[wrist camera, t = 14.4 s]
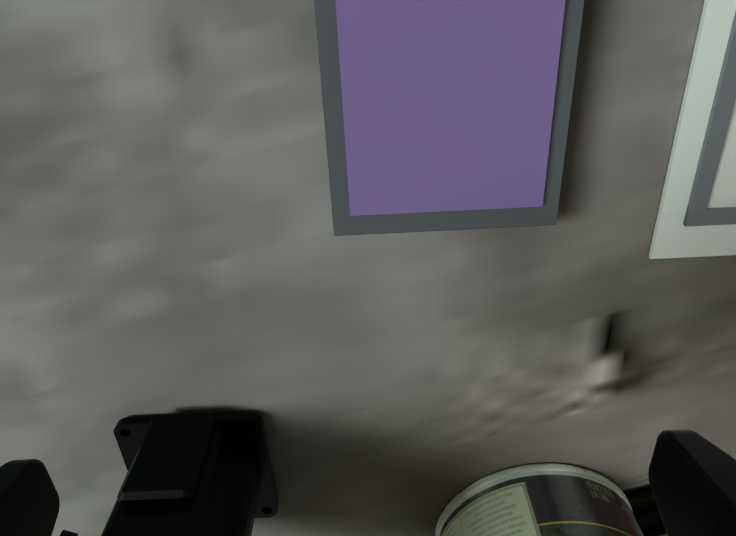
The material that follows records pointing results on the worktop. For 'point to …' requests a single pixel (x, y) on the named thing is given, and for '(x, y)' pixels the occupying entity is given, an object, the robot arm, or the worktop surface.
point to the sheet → (703, 148)
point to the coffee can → (540, 505)
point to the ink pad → (446, 111)
